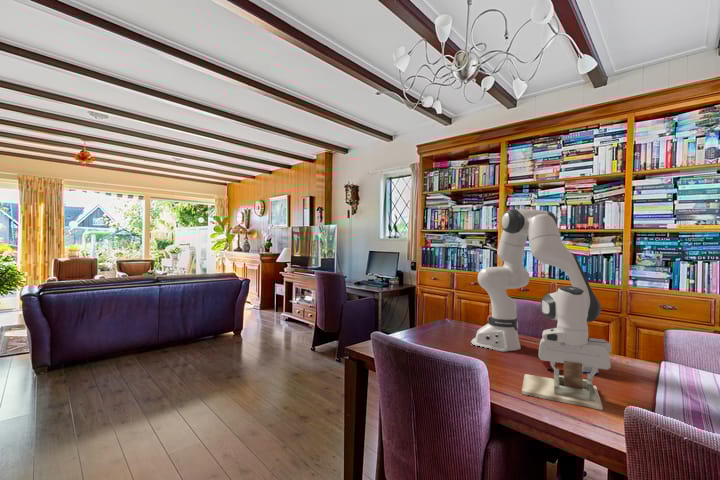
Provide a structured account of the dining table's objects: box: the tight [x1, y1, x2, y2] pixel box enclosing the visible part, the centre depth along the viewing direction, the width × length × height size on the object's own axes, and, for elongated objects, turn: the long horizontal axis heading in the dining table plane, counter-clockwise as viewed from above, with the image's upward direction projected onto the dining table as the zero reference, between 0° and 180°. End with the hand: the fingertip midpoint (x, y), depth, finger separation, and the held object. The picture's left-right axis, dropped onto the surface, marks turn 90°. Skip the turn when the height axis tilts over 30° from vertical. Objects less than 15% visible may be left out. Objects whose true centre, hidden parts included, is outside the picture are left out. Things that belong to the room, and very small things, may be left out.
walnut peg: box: [563, 361, 584, 389], centre depth 110 cm, size 5×5×10 cm
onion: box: [540, 359, 558, 370], centre depth 132 cm, size 6×6×8 cm
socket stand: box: [521, 373, 604, 411], centre depth 112 cm, size 22×16×4 cm
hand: (573, 377), depth 110 cm, fingers open, 8 cm apart
